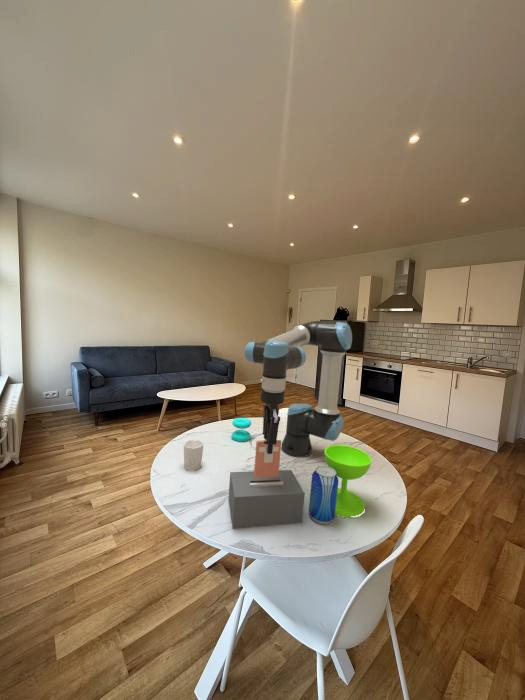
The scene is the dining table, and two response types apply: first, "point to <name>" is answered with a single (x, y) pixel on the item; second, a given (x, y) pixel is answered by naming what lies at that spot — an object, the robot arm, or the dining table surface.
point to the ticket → (266, 468)
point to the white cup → (193, 454)
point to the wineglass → (347, 476)
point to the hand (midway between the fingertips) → (267, 460)
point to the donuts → (241, 434)
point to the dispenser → (265, 499)
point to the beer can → (323, 494)
